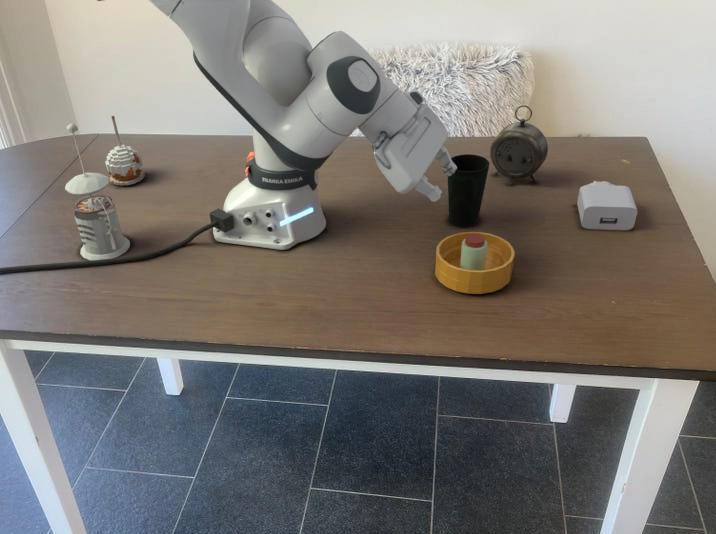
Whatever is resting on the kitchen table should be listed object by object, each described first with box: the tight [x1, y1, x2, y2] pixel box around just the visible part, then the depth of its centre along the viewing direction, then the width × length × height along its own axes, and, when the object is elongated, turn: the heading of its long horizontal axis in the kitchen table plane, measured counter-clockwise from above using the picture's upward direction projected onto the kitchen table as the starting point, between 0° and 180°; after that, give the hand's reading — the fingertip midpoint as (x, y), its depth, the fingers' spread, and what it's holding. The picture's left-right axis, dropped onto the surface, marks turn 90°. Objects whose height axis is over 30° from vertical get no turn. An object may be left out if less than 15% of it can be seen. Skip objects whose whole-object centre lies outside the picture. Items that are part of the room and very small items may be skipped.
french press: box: [64, 123, 131, 261], centre depth 132 cm, size 10×12×25 cm
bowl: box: [434, 231, 516, 295], centre depth 124 cm, size 13×13×5 cm
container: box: [460, 233, 487, 270], centre depth 123 cm, size 4×4×7 cm
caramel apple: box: [104, 114, 146, 186], centre depth 159 cm, size 8×8×15 cm
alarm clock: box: [489, 104, 549, 186], centre depth 146 cm, size 11×5×16 cm, turn 58°
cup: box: [447, 153, 490, 228], centre depth 136 cm, size 8×8×12 cm
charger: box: [576, 180, 638, 231], centre depth 138 cm, size 5×9×15 cm
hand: (446, 185), depth 118 cm, fingers open, 8 cm apart
